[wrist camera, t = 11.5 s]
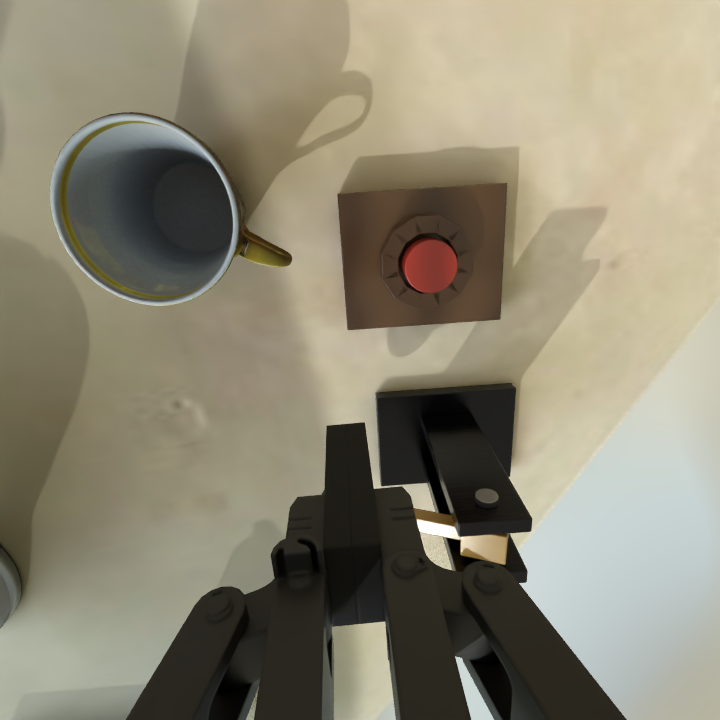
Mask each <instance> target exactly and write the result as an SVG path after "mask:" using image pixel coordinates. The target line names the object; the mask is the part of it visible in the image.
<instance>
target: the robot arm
mask: <svg viewBox="0 0 720 720" xmlns="http://www.w3.org/2000/svg"><path fill="white" fill-rule="evenodd" d="M288 520H289V521H288V526H287V533H286V539H284V540H282V541H280V542H279V543H278V544H277V545H276V546H275V547H274V548H273V551H272V553H271V560H272V566H273V571H274V577H275V579H274V580H273V581H272V582H271V583H269V584H268V585H266V586H265V587H263V588H261V589H259V590H256V591H254V592H251V593H248V594H246V595H244V594H243V593H242V592H241V591H240V590H239V589H237V588H234V587H231V586H230V587H220V588H217V589H214V590H212V591H210V592H208V593H207V594H206V595H204V596H203V597H201V599H200V600H199V601H198V602H197V603H196V605H195V606H194V608H193V609H192V611H191V613H190V614H189V616H188V618H187V619H186V621H185V623H184V624H183V626H182V628H181V629H180V631H179V633H178V634H177V636H176V637H175V639H174V641H173V642H172V644H171V646H170V647H169V649H168V651H167V652H166V654H165V656H164V657H163V659H162V661H161V662H160V664H159V666H158V667H157V669H156V671H155V672H154V674H153V676H152V677H151V679H150V680H149V682H148V684H147V685H146V687H145V689H144V690H143V692H142V694H141V695H140V697H139V699H138V700H137V702H136V704H135V705H134V707H133V709H132V710H131V712H130V714H129V715H128V717H127V719H126V720H246V718H247V715H248V712H249V710H250V707H251V705H252V702H253V699H254V697H255V694H256V691H257V689H258V686H259V690H258V697H257V703H256V710H255V717H254V720H334V645H333V637H332V627H333V626H343V625H353V624H363V623H373V622H383V621H385V622H386V635H387V650H388V660H389V663H390V672H391V680H392V689H393V698H394V707H395V715H396V720H471V717H470V713H469V709H468V706H467V702H466V698H465V694H464V690H463V686H462V682H461V678H460V674H459V671H458V667H457V663H456V659H455V656H457V657H461V658H462V659H463V662H464V664H465V666H466V667H467V669H468V671H469V673H470V675H471V677H472V679H473V681H474V683H475V684H476V686H477V688H478V690H479V692H480V694H481V695H482V697H483V699H484V701H485V703H486V705H487V707H488V709H489V710H490V712H491V714H492V716H493V718H494V720H626V718H625V717H624V716H623V715H622V713H621V712H620V711H619V710H618V708H617V707H616V706H615V705H614V703H613V702H612V701H611V699H610V698H609V697H608V696H607V694H606V693H605V692H604V691H603V689H602V688H601V687H600V686H599V684H598V683H597V682H596V680H595V679H594V678H593V677H592V675H590V673H589V672H588V670H587V669H586V668H585V667H584V665H583V664H582V663H581V661H580V660H579V659H578V658H577V656H576V655H575V654H574V653H573V651H572V650H571V649H570V648H569V646H568V645H567V644H566V642H565V641H564V640H563V639H562V637H561V636H560V635H559V634H558V633H557V631H556V630H555V629H554V627H553V626H552V625H551V623H550V622H549V621H548V620H547V618H546V617H545V616H544V615H543V613H542V612H541V611H540V610H539V608H538V607H537V606H536V605H535V603H534V602H533V601H532V599H531V598H530V597H529V596H528V594H527V593H526V592H525V591H524V589H523V588H522V587H521V585H520V584H519V583H518V582H517V580H516V579H515V578H514V577H513V575H512V574H511V573H510V572H509V571H508V570H507V569H506V568H504V567H503V566H501V565H499V564H497V563H495V562H490V561H477V562H473V563H471V564H470V565H468V566H467V567H466V568H465V569H464V571H463V572H458V571H452V570H448V569H444V568H441V567H439V566H437V565H436V564H434V563H433V562H432V561H430V559H429V558H428V557H427V556H426V553H425V551H424V548H423V544H422V540H421V536H420V532H419V528H418V524H417V520H416V517H415V512H414V509H413V504H412V500H411V496H410V495H409V494H408V493H407V491H406V490H405V489H404V488H403V487H391V488H380V489H374V488H373V481H372V473H371V466H370V458H369V451H368V443H367V436H366V428H365V423H353V424H342V425H330V426H327V433H326V465H325V495H315V496H304V497H297V499H296V500H295V501H294V503H293V504H292V506H291V507H290V511H289V519H288ZM20 596H21V581H20V577H19V574H18V571H17V569H16V567H15V565H14V563H13V562H12V560H11V559H10V557H9V556H8V555H7V554H6V553H5V551H4V550H3V549H2V548H1V547H0V628H1V627H2V626H3V624H4V623H5V622H6V621H7V619H8V618H9V617H10V615H11V614H12V613H13V612H14V610H15V609H16V607H17V605H18V603H19V600H20Z"/></svg>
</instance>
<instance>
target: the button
mask: <svg viewBox="0 0 720 720" xmlns="http://www.w3.org/2000/svg"><path fill="white" fill-rule="evenodd" d="M402 270H403V273H404V276H405V277H406V279H407V280H408V282H409V283H410V284H411V285H412V287H414V288H415V289H416V290H418V291H421V292H424V293H435V292H439V291H441V290H443V289H444V288H446V287H447V286H448V285H449V284H450V283H451V282H452V281H453V279H454V277H455V275H456V272H457V258H456V255H455V253H454V251H453V250H452V248H451V247H450V246H449V245H447V244H446V243H444V242H442V241H440V240H438V239H436V238H431V237H426V238H421V239H418V240H416V241H415V242H413V243H412V244H411V245H410V246H409V247H408V248H407V249H406V251H405V253H404V255H403V259H402Z"/></svg>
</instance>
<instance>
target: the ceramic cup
mask: <svg viewBox="0 0 720 720" xmlns="http://www.w3.org/2000/svg"><path fill="white" fill-rule="evenodd" d="M50 205H51V211H52V217H53V220H54V224H55V227H56V230H57V232H58V235H59V237H60V239H61V241H62V243H63V245H64V247H65V249H66V250H67V252H68V253H69V255H70V256H71V258H72V259H73V260H74V262H75V263H76V264H77V265H78V266H79V268H80V269H81V270H82V271H83V272H84V273H85V274H86V275H87V276H88V277H89V278H91V279H92V280H93V281H94V282H95V283H97V284H98V285H99V286H101V287H102V288H104V289H106V290H107V291H109V292H110V293H113V294H115V295H117V296H119V297H121V298H123V299H126V300H129V301H132V302H136V303H140V304H146V305H154V306H166V305H174V304H179V303H183V302H187V301H189V300H192V299H194V298H196V297H198V296H200V295H202V294H204V293H205V292H207V291H208V290H209V289H211V288H212V287H213V286H214V285H215V284H216V283H217V282H218V281H219V280H220V279H221V278H222V276H223V275H224V274H225V272H226V271H227V269H228V268H229V266H230V264H231V262H232V259H233V257H236V256H240V257H242V258H245V259H247V260H249V261H251V262H254V263H257V264H261V265H266V266H273V267H284V266H288V265H290V263H291V261H292V256H291V255H290V253H288V252H287V251H285V250H283V249H281V248H279V247H277V246H275V245H273V244H271V243H269V242H267V241H266V240H264V239H262V238H261V237H259V236H257V235H255V234H253V233H252V232H250V231H249V230H248V229H247V227H246V225H244V224H243V221H244V213H245V205H244V203H243V201H242V199H241V197H240V195H239V193H238V191H237V189H236V187H235V185H234V184H233V182H232V180H231V178H230V176H229V174H228V172H227V170H226V169H225V167H224V166H223V164H222V163H221V161H220V160H219V158H218V157H217V156H216V155H215V153H214V152H213V151H212V150H211V149H210V148H209V147H208V146H207V145H206V144H205V143H203V142H202V141H201V140H200V139H198V138H197V137H196V136H194V135H193V134H191V133H190V132H189V131H187V130H186V129H184V128H182V127H181V126H179V125H177V124H175V123H173V122H171V121H169V120H166V119H163V118H160V117H158V116H154V115H149V114H144V113H134V112H130V113H117V114H110V115H107V116H104V117H101V118H98V119H95V120H93V121H92V122H90V123H88V124H86V125H85V126H83V127H82V128H80V129H79V130H78V131H77V132H76V133H75V134H73V135H72V136H71V138H70V139H69V140H68V141H67V142H66V144H65V145H64V147H63V148H62V150H61V151H60V153H59V156H58V158H57V160H56V162H55V166H54V169H53V172H52V177H51V183H50Z"/></svg>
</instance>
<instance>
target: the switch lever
mask: <svg viewBox="0 0 720 720" xmlns="http://www.w3.org/2000/svg"><path fill="white" fill-rule="evenodd" d="M322 495H325V490H324V491H323V493H322ZM413 509H414V512H415V517H416V520H417V524H418V528H419V532H423V533H428V534H432V535H437V536H442V537H447V538H452V539H456V540H461V542H460V554H461V555H462V556H467V557H471V558H476V559H480V560H485V561H490V562H495V563H499V564H503V565H505V564H506V557H507V547H508V536H509V533H506V534H493V535H479V536H466V537H459V536H458V534H457V531H456V528H455V525H454V522H453V519H452V516H451V515H447V514H441V513H436V512H431V511H426V510H420V509H415V508H413Z"/></svg>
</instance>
